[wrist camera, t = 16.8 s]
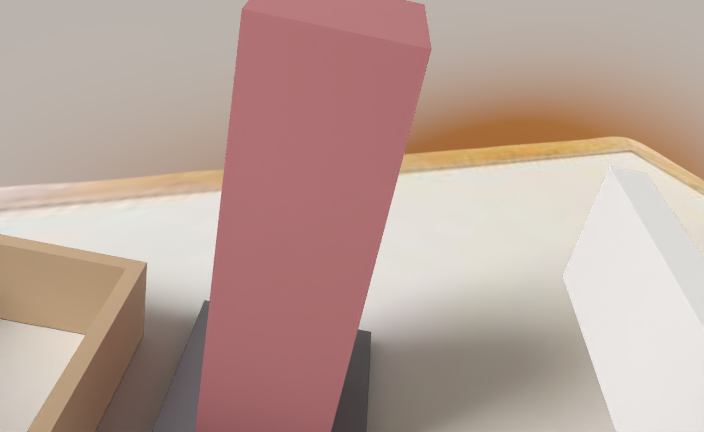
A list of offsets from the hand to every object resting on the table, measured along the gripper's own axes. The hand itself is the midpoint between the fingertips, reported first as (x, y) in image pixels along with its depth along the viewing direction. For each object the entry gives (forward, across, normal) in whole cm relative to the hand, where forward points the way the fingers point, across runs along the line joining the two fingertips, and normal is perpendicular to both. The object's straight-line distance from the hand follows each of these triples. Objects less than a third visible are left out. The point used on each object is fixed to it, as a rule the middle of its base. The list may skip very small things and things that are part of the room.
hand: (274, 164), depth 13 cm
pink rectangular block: (+11, 0, -20) cm, 23 cm away
